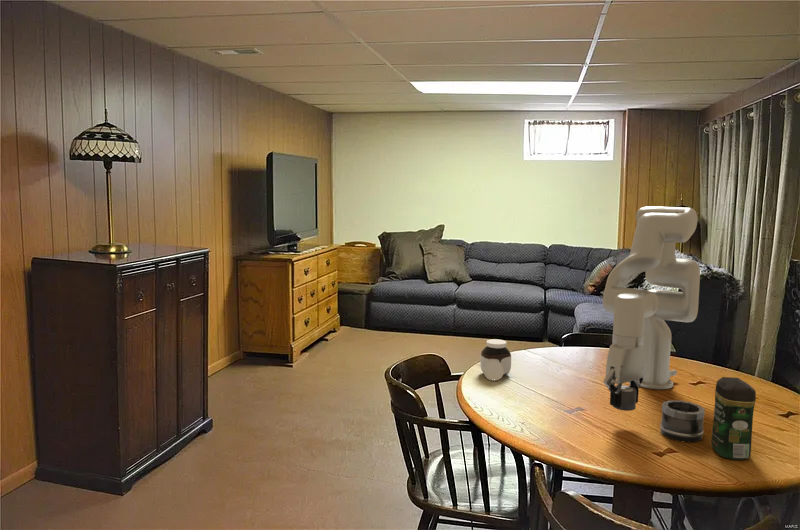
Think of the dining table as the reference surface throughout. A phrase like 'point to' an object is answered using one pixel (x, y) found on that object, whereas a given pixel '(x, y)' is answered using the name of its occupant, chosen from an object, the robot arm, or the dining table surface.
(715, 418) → the coffee jar
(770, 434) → the dining table surface
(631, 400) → the dark grey short cylinder
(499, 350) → the spread jar
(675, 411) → the lens barrel
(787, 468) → the dining table surface
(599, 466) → the dining table surface
